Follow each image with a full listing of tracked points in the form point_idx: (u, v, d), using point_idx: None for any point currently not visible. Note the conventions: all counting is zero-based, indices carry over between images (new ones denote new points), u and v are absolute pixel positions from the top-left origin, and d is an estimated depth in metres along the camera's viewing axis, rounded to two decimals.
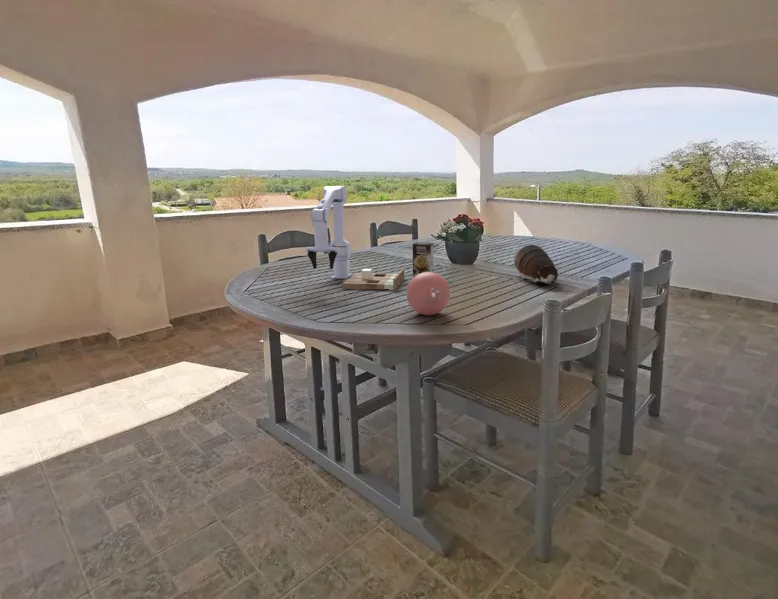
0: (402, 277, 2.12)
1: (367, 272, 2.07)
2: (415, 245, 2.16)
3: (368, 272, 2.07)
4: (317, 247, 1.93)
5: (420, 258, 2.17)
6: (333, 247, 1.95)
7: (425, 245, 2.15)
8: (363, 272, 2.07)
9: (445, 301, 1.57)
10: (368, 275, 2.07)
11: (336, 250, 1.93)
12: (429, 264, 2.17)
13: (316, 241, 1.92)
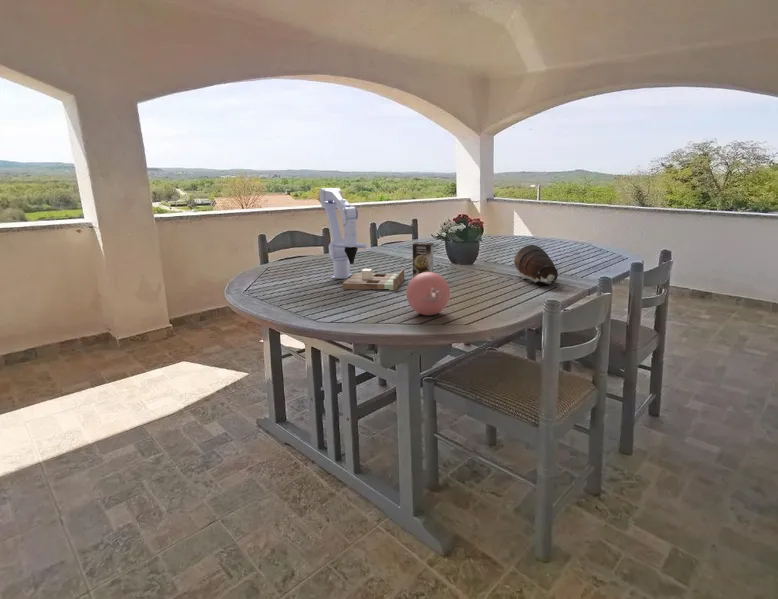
0: (402, 277, 2.12)
1: (367, 272, 2.07)
2: (415, 245, 2.16)
3: (368, 272, 2.07)
4: (347, 243, 2.05)
5: (420, 258, 2.17)
6: (361, 243, 2.07)
7: (425, 245, 2.15)
8: (363, 272, 2.07)
9: (445, 301, 1.57)
10: (368, 275, 2.07)
11: (364, 246, 2.05)
12: (429, 264, 2.17)
13: (346, 238, 2.04)
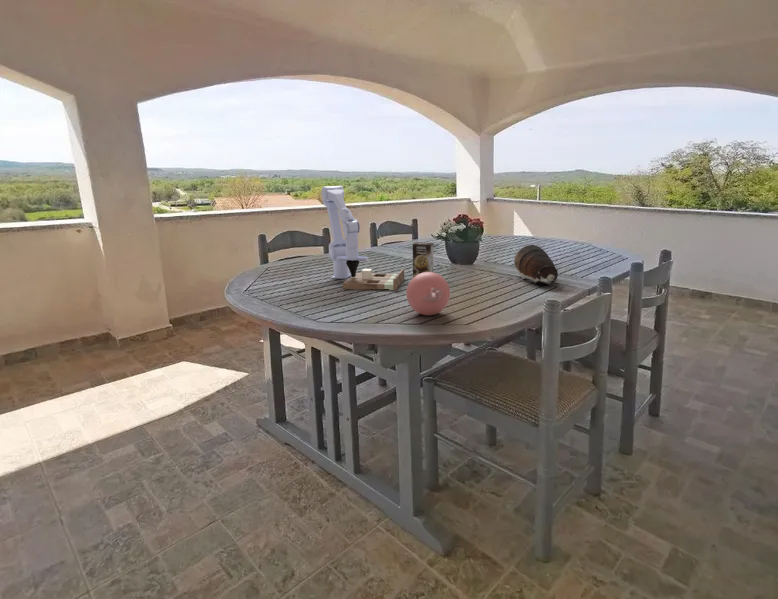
0: (402, 277, 2.12)
1: (367, 272, 2.07)
2: (415, 245, 2.16)
3: (368, 272, 2.07)
4: (348, 257, 2.06)
5: (420, 258, 2.17)
6: None
7: (425, 245, 2.15)
8: (363, 272, 2.07)
9: (445, 301, 1.57)
10: (368, 275, 2.07)
11: (366, 259, 2.06)
12: (429, 264, 2.17)
13: (347, 251, 2.06)
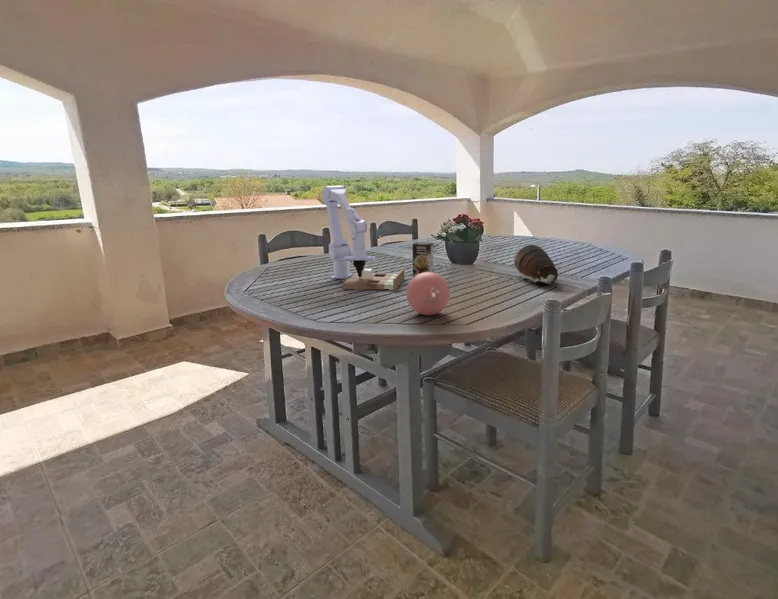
0: (402, 277, 2.12)
1: (367, 272, 2.07)
2: (415, 245, 2.16)
3: (368, 272, 2.07)
4: (355, 257, 2.05)
5: (420, 258, 2.17)
6: None
7: (425, 245, 2.15)
8: (363, 272, 2.07)
9: (445, 301, 1.57)
10: (368, 275, 2.07)
11: (373, 259, 2.06)
12: (429, 264, 2.17)
13: (354, 251, 2.05)
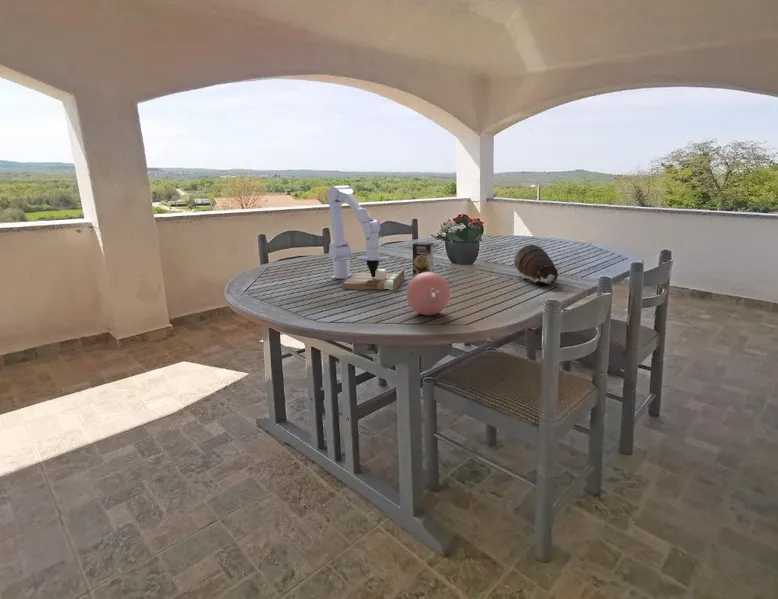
0: (402, 277, 2.12)
1: (381, 272, 2.05)
2: (415, 245, 2.16)
3: (382, 272, 2.05)
4: (369, 257, 2.04)
5: (420, 258, 2.17)
6: (383, 257, 2.07)
7: (425, 245, 2.15)
8: (377, 272, 2.06)
9: (445, 301, 1.57)
10: (382, 275, 2.06)
11: (387, 260, 2.04)
12: (429, 264, 2.17)
13: (368, 251, 2.04)
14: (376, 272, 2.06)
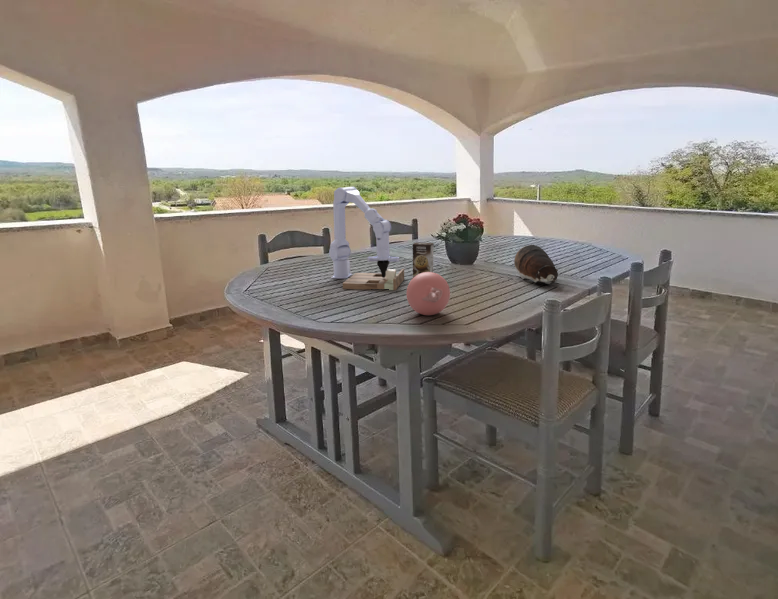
0: (402, 277, 2.12)
1: (391, 273, 2.04)
2: (415, 245, 2.16)
3: (392, 273, 2.04)
4: (379, 257, 2.03)
5: (420, 258, 2.17)
6: (394, 257, 2.06)
7: (425, 245, 2.15)
8: (387, 273, 2.05)
9: (445, 301, 1.57)
10: (392, 276, 2.05)
11: (397, 260, 2.03)
12: (429, 264, 2.17)
13: (378, 251, 2.03)
14: (386, 272, 2.05)
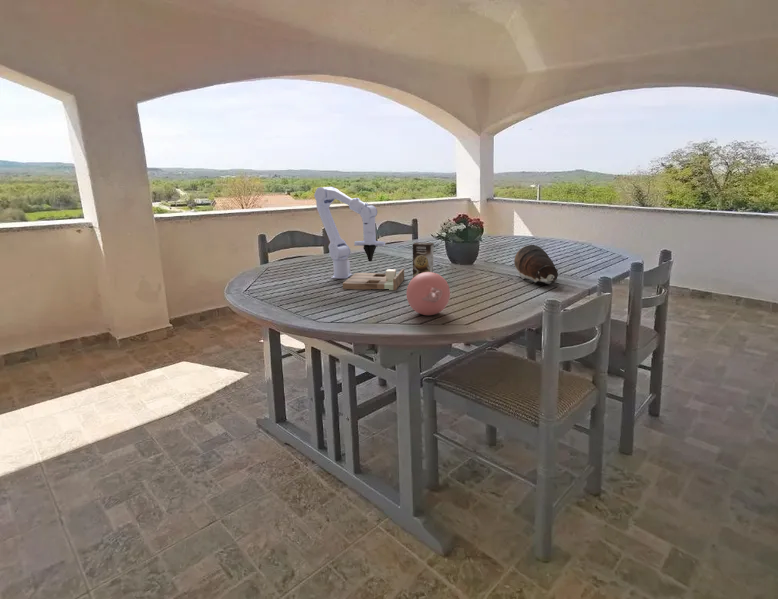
0: (402, 277, 2.12)
1: (391, 273, 2.04)
2: (415, 245, 2.16)
3: (392, 273, 2.04)
4: (366, 241, 2.09)
5: (420, 258, 2.17)
6: (380, 241, 2.12)
7: (425, 245, 2.15)
8: (387, 272, 2.05)
9: (445, 301, 1.57)
10: (392, 276, 2.05)
11: (383, 244, 2.10)
12: (429, 264, 2.17)
13: (365, 235, 2.09)
14: (386, 272, 2.05)
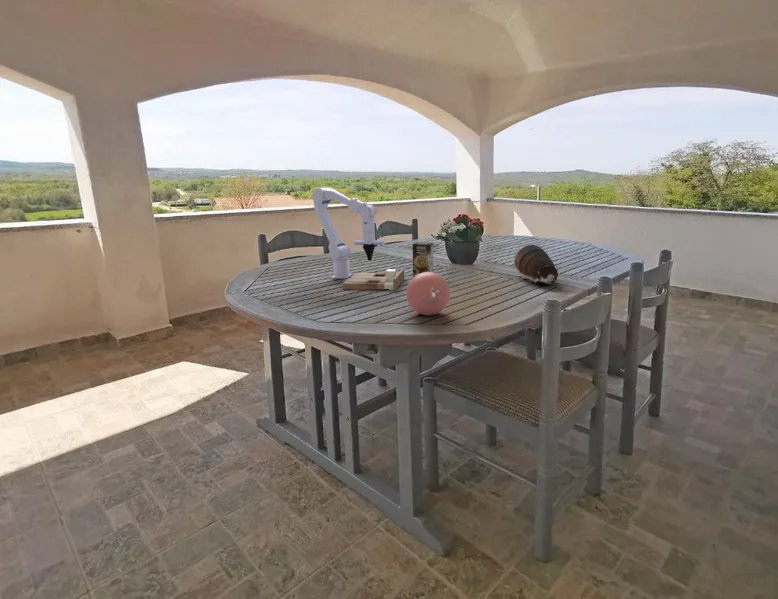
0: (402, 277, 2.12)
1: (391, 273, 2.04)
2: (415, 245, 2.16)
3: (392, 273, 2.04)
4: (365, 240, 2.11)
5: (420, 258, 2.17)
6: None
7: (425, 245, 2.15)
8: (387, 272, 2.05)
9: (445, 301, 1.57)
10: (392, 276, 2.05)
11: (382, 243, 2.11)
12: (429, 264, 2.17)
13: (364, 235, 2.10)
14: (386, 272, 2.05)
